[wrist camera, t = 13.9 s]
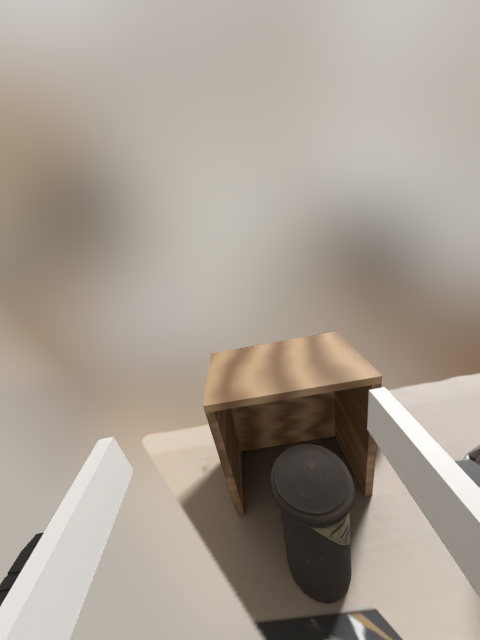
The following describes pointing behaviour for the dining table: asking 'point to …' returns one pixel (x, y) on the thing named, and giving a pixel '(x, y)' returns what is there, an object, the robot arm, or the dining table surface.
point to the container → (315, 518)
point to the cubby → (291, 402)
